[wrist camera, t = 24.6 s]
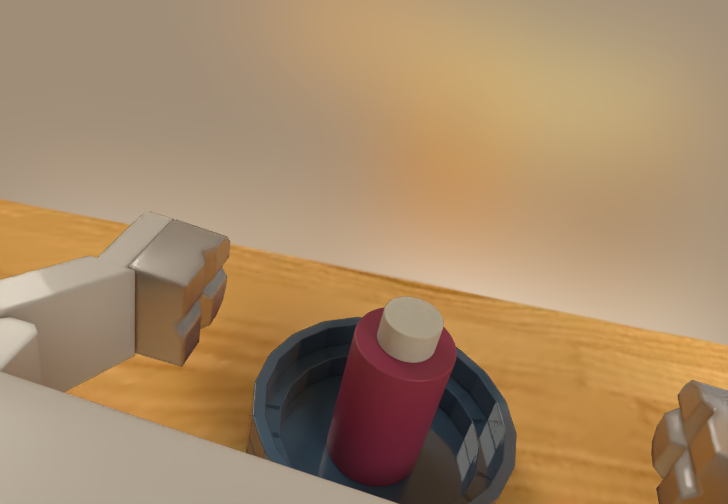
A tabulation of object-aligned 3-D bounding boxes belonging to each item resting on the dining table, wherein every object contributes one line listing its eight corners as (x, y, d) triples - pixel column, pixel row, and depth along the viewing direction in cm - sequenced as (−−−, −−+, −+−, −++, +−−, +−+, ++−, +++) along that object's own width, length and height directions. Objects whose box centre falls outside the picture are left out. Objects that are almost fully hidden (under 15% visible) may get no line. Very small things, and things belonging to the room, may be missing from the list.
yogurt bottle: (423, 427, 43) (471, 300, 37) (408, 499, 38) (460, 369, 32) (340, 400, 43) (374, 270, 37) (315, 469, 39) (349, 334, 33)
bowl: (501, 401, 47) (521, 359, 45) (482, 616, 35) (508, 573, 32) (293, 336, 48) (301, 291, 46) (202, 520, 36) (207, 472, 33)
